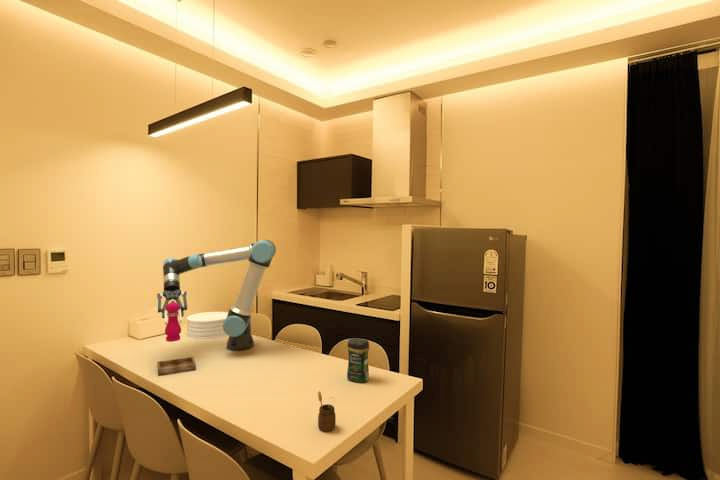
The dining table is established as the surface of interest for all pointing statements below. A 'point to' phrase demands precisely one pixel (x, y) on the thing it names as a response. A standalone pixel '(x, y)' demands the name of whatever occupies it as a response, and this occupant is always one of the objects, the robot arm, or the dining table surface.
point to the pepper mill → (172, 322)
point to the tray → (176, 366)
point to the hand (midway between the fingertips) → (173, 322)
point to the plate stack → (206, 325)
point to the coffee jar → (358, 360)
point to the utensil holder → (326, 416)
